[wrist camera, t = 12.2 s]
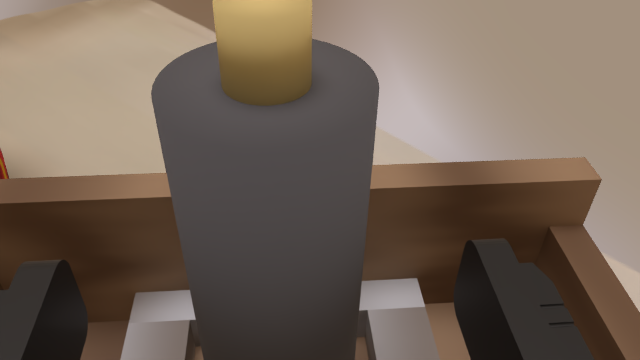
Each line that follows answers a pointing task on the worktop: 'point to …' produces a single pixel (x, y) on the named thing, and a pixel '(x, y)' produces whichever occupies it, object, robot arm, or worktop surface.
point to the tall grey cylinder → (270, 182)
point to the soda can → (3, 168)
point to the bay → (378, 268)
